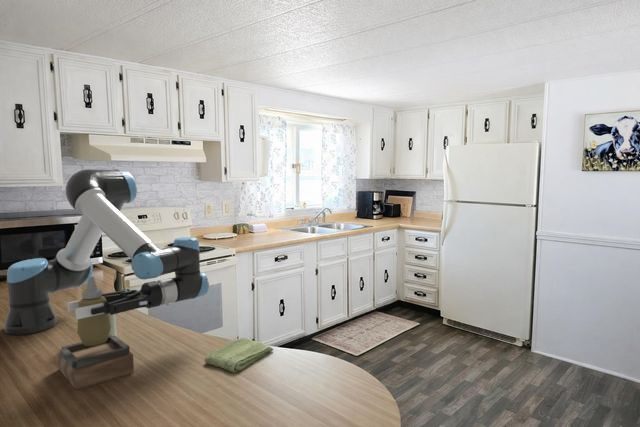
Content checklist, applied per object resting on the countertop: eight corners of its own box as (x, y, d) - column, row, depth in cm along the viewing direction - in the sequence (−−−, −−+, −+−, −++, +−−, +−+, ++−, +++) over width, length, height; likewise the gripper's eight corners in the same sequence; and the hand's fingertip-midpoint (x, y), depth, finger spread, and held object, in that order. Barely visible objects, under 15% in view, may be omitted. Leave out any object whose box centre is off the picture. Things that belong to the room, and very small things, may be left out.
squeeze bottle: (86, 337, 119) (82, 274, 117) (116, 336, 119) (113, 273, 118) (72, 349, 111) (67, 281, 109) (104, 347, 111) (100, 280, 110)
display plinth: (59, 369, 117) (57, 346, 116) (112, 354, 126) (111, 333, 126) (76, 390, 105) (75, 365, 105) (133, 371, 115) (132, 348, 115)
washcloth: (275, 352, 129) (275, 342, 129) (236, 376, 114) (235, 364, 113) (242, 343, 136) (242, 334, 135) (200, 365, 120) (200, 354, 120)
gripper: (173, 312, 120) (84, 334, 104) (145, 298, 134) (62, 316, 118) (172, 286, 120) (82, 304, 103) (144, 275, 133) (60, 289, 117)
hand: (72, 310), depth 111 cm, fingers closed on squeeze bottle, 6 cm apart
